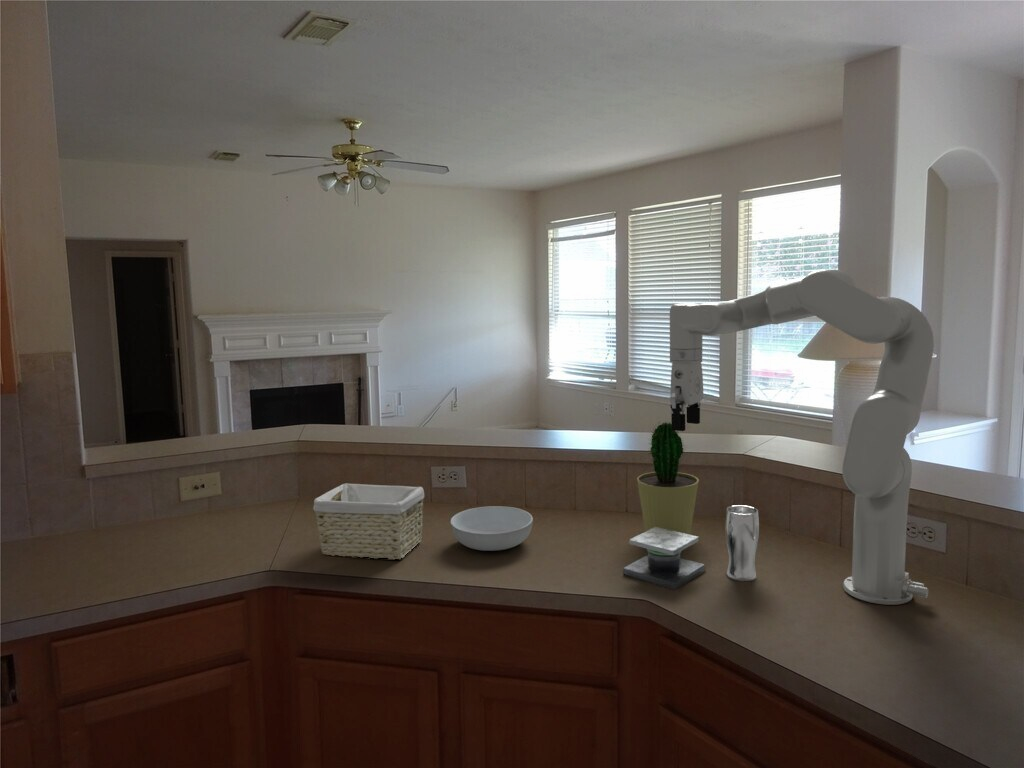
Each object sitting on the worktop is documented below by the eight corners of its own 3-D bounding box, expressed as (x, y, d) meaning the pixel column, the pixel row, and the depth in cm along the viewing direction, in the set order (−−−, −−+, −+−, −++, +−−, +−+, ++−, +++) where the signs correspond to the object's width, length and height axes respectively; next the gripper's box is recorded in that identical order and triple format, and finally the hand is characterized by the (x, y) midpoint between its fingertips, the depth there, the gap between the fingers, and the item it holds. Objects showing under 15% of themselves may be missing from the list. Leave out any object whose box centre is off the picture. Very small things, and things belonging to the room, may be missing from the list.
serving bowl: (440, 557, 172) (438, 530, 171) (465, 528, 192) (464, 504, 191) (523, 562, 167) (522, 534, 166) (540, 532, 187) (540, 507, 186)
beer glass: (760, 583, 151) (761, 515, 149) (726, 581, 153) (727, 514, 151) (755, 570, 158) (756, 505, 156) (723, 568, 160) (724, 504, 158)
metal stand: (704, 570, 159) (704, 536, 158) (674, 589, 149) (674, 553, 148) (654, 557, 168) (654, 524, 166) (623, 574, 158) (622, 540, 157)
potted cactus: (701, 546, 174) (702, 426, 170) (638, 544, 176) (637, 426, 172) (695, 525, 189) (696, 414, 185) (637, 524, 191) (636, 415, 187)
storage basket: (313, 557, 175) (309, 499, 173) (346, 535, 190) (342, 481, 188) (402, 564, 168) (399, 504, 166) (428, 540, 184) (426, 485, 182)
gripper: (688, 359, 158) (688, 434, 161) (713, 352, 172) (713, 421, 175) (656, 358, 162) (657, 432, 165) (684, 352, 177) (684, 419, 179)
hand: (686, 426), depth 170 cm, fingers open, 9 cm apart
